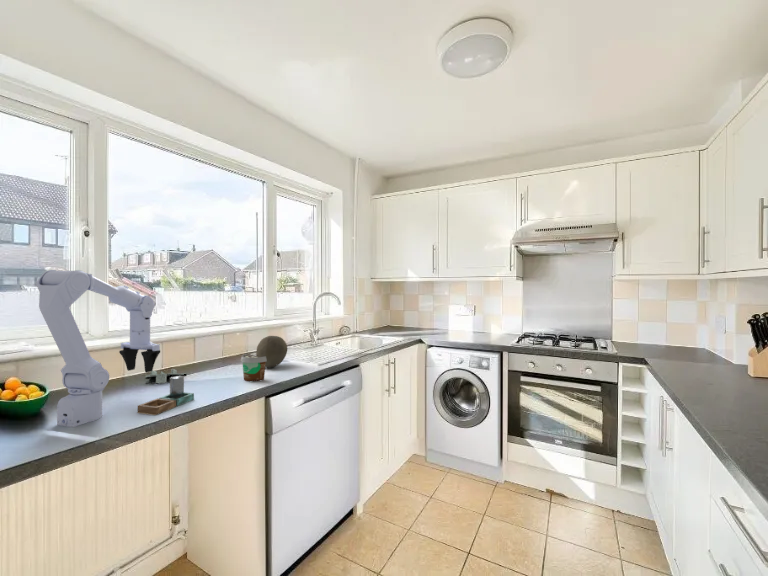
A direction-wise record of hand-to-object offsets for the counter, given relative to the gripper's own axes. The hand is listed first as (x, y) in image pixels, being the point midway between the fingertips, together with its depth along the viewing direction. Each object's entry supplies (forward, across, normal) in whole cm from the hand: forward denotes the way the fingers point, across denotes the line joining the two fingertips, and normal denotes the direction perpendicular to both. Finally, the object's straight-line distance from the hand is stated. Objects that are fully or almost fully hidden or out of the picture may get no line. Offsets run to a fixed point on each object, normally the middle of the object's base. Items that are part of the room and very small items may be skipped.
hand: (139, 370), depth 120 cm
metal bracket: (+11, +16, -24) cm, 31 cm away
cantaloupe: (+11, -14, -57) cm, 60 cm away
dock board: (+10, -14, +3) cm, 18 cm away
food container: (+11, -19, -34) cm, 40 cm away
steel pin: (+9, -14, -1) cm, 17 cm away
